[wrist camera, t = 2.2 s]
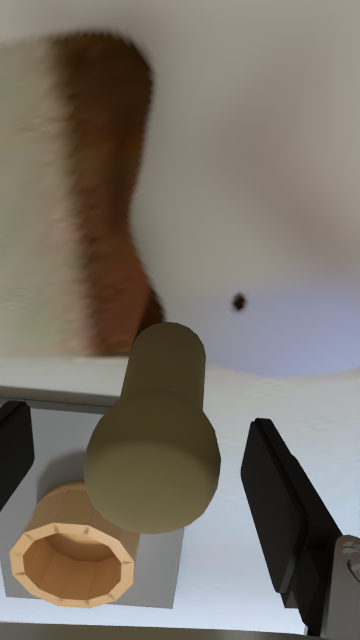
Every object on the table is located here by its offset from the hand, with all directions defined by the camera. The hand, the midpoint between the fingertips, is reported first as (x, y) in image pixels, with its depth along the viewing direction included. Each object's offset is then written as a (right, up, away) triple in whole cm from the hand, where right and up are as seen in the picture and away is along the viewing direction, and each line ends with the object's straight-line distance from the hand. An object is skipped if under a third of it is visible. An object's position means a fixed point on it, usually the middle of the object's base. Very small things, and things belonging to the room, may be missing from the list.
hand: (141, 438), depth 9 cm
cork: (+1, +2, +9) cm, 9 cm away
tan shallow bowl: (-7, -14, +12) cm, 20 cm away
